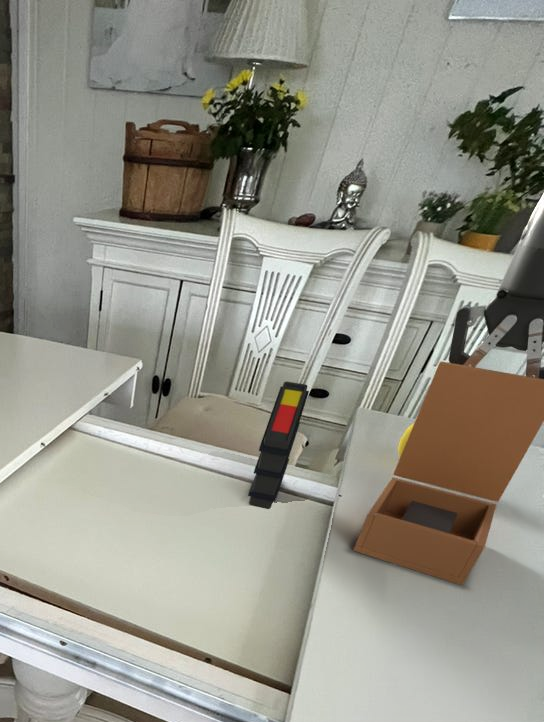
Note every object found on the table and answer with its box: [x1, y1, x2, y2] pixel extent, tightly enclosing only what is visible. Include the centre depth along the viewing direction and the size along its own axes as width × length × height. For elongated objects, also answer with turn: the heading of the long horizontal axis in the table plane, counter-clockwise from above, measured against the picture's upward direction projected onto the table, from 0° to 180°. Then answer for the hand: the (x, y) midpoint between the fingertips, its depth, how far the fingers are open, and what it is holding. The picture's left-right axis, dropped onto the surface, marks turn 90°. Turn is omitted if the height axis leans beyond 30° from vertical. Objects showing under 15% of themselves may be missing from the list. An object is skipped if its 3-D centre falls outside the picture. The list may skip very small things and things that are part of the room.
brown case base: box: [352, 476, 498, 586], centre depth 74 cm, size 14×13×5 cm
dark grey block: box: [401, 501, 457, 533], centre depth 74 cm, size 6×10×3 cm, turn 145°
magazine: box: [247, 381, 310, 510], centre depth 82 cm, size 4×13×15 cm, turn 156°
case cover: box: [392, 360, 544, 503], centre depth 73 cm, size 14×13×6 cm
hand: (482, 406), depth 73 cm, fingers closed on case cover, 5 cm apart
